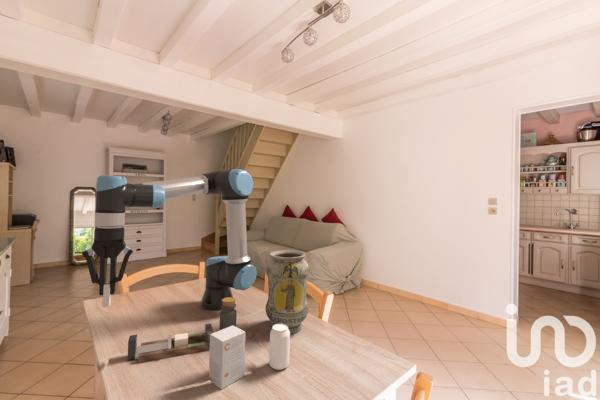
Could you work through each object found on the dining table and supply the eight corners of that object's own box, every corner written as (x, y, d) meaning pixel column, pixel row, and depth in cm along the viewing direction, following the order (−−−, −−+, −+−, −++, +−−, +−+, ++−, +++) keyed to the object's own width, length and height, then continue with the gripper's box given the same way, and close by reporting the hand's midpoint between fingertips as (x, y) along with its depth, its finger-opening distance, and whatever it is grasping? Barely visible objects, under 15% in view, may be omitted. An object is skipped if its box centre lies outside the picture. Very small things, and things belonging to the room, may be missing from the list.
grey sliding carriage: (171, 345, 93) (171, 328, 93) (171, 356, 87) (171, 338, 87) (129, 353, 88) (130, 334, 88) (126, 365, 82) (126, 345, 82)
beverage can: (271, 359, 90) (272, 321, 90) (290, 360, 89) (291, 323, 89) (267, 370, 83) (268, 330, 83) (287, 372, 83) (288, 332, 83)
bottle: (238, 338, 102) (240, 298, 102) (229, 346, 96) (231, 303, 97) (225, 335, 104) (226, 295, 104) (215, 343, 98) (217, 300, 98)
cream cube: (187, 344, 95) (187, 332, 95) (187, 350, 91) (188, 338, 91) (174, 346, 93) (174, 334, 93) (174, 352, 90) (174, 340, 90)
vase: (264, 338, 103) (266, 257, 103) (263, 318, 120) (265, 249, 121) (311, 336, 106) (314, 257, 106) (303, 316, 123) (306, 249, 123)
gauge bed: (210, 339, 101) (210, 323, 101) (213, 352, 92) (214, 334, 92) (140, 351, 91) (141, 333, 91) (137, 367, 83) (138, 347, 83)
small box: (231, 367, 85) (233, 324, 85) (244, 376, 80) (246, 331, 81) (207, 379, 78) (209, 333, 78) (220, 390, 74) (222, 341, 74)
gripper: (136, 225, 90) (133, 298, 90) (86, 225, 84) (83, 303, 84) (133, 227, 83) (130, 306, 83) (79, 228, 77) (75, 312, 77)
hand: (106, 305), depth 83 cm, fingers closed
